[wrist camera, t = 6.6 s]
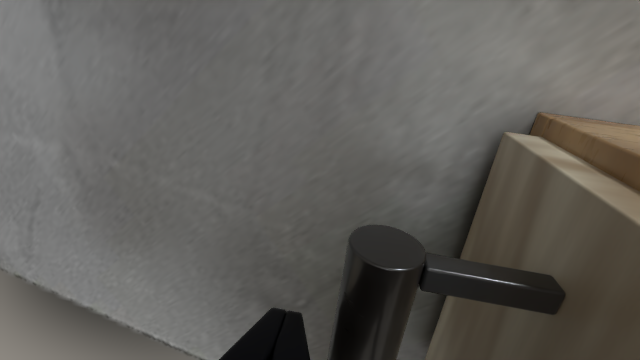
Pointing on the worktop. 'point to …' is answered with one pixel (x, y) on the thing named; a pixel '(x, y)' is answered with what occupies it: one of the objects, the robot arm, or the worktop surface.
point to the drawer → (508, 270)
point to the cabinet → (595, 143)
